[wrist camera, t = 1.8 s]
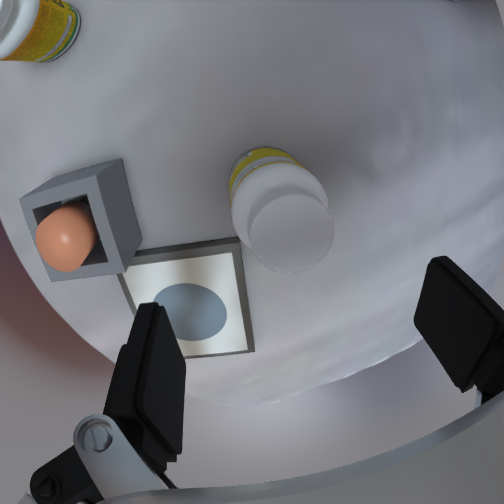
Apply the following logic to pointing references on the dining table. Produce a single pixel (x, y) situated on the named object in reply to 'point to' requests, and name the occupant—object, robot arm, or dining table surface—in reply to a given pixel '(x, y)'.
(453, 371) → the robot arm
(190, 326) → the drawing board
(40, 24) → the supplement bottle
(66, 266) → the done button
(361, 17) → the dining table surface
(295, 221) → the supplement bottle
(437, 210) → the dining table surface
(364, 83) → the dining table surface
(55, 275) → the button housing
